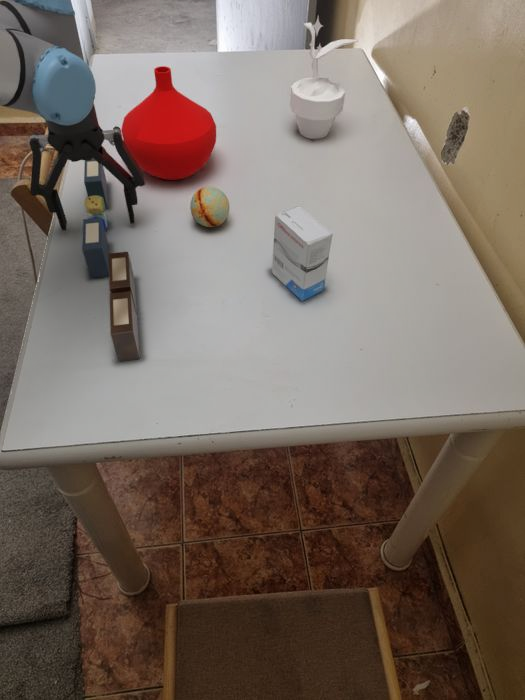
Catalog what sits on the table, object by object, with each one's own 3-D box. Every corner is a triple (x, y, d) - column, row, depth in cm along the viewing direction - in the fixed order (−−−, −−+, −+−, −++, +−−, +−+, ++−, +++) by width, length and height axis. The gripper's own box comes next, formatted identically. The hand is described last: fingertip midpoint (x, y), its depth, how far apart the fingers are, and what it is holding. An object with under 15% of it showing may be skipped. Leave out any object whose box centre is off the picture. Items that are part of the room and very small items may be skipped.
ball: (235, 216, 97) (234, 183, 92) (222, 238, 93) (220, 205, 87) (200, 208, 98) (197, 175, 93) (185, 230, 94) (182, 196, 88)
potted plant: (284, 143, 114) (293, 15, 95) (291, 118, 122) (300, -6, 102) (341, 149, 113) (362, 21, 94) (344, 124, 121) (364, 0, 101)
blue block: (91, 278, 85) (82, 249, 80) (91, 186, 102) (84, 157, 97) (109, 276, 86) (101, 247, 81) (107, 184, 102) (100, 156, 98)
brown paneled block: (118, 361, 74) (110, 333, 70) (116, 281, 85) (108, 252, 80) (139, 359, 75) (132, 331, 70) (134, 279, 85) (128, 250, 81)
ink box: (324, 290, 85) (334, 233, 76) (300, 302, 83) (308, 244, 74) (293, 261, 89) (299, 203, 80) (270, 272, 87) (273, 213, 78)
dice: (107, 241, 91) (100, 210, 86) (92, 242, 91) (83, 211, 86) (107, 214, 96) (99, 183, 91) (92, 215, 96) (84, 185, 91)
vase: (201, 137, 115) (194, 43, 100) (230, 181, 104) (228, 83, 90) (119, 153, 110) (100, 56, 95) (141, 200, 99) (124, 100, 85)
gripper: (146, 83, 80) (163, 203, 97) (-16, 93, 77) (31, 216, 93) (149, 106, 75) (166, 228, 92) (-23, 117, 72) (28, 242, 89)
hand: (98, 222), depth 93 cm, fingers open, 11 cm apart
